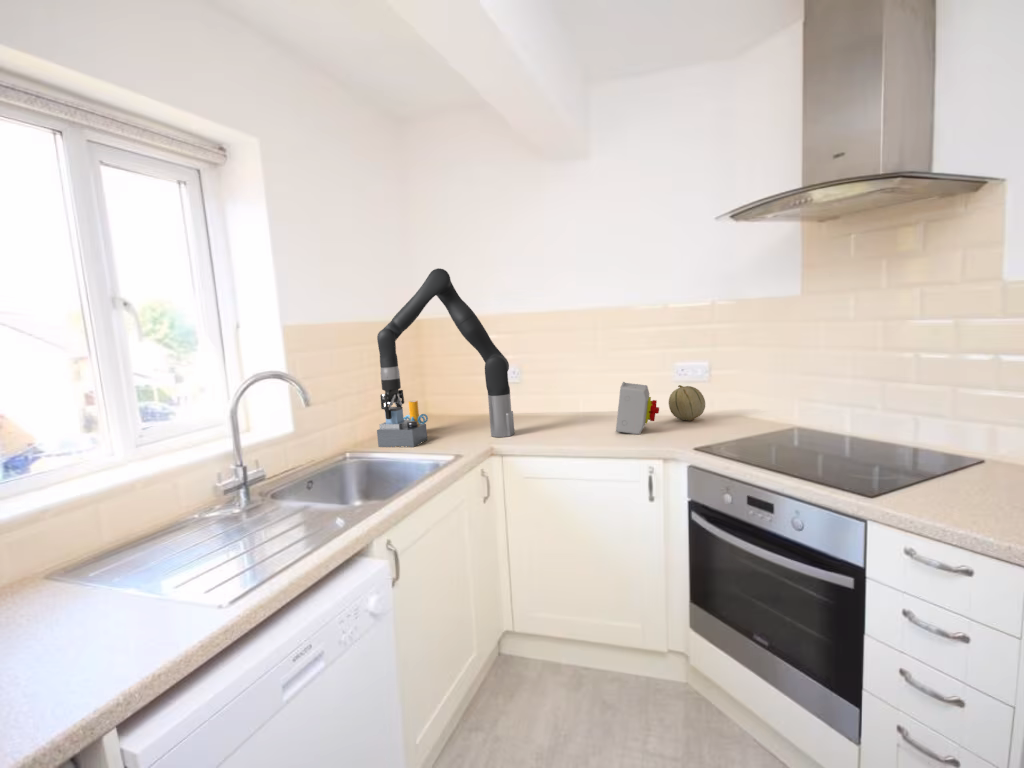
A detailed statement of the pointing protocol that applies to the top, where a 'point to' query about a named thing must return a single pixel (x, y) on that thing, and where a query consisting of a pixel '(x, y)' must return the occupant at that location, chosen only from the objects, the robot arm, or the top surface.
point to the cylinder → (415, 413)
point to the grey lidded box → (395, 416)
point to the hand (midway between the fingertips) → (394, 417)
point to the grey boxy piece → (401, 434)
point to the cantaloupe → (686, 403)
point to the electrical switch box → (634, 408)
